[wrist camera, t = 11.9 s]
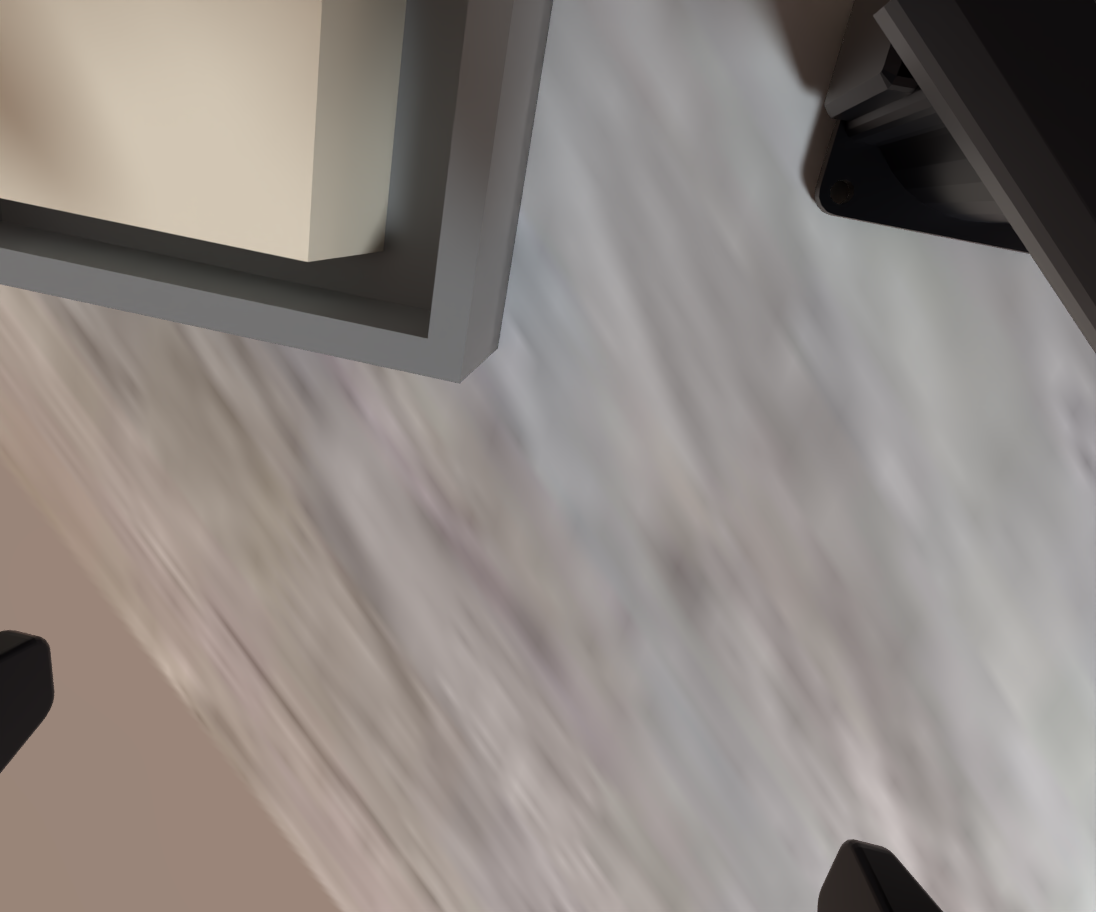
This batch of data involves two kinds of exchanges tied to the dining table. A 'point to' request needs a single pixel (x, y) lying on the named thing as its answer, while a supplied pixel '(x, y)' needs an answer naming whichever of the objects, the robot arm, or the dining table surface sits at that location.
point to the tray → (360, 280)
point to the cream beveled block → (206, 117)
